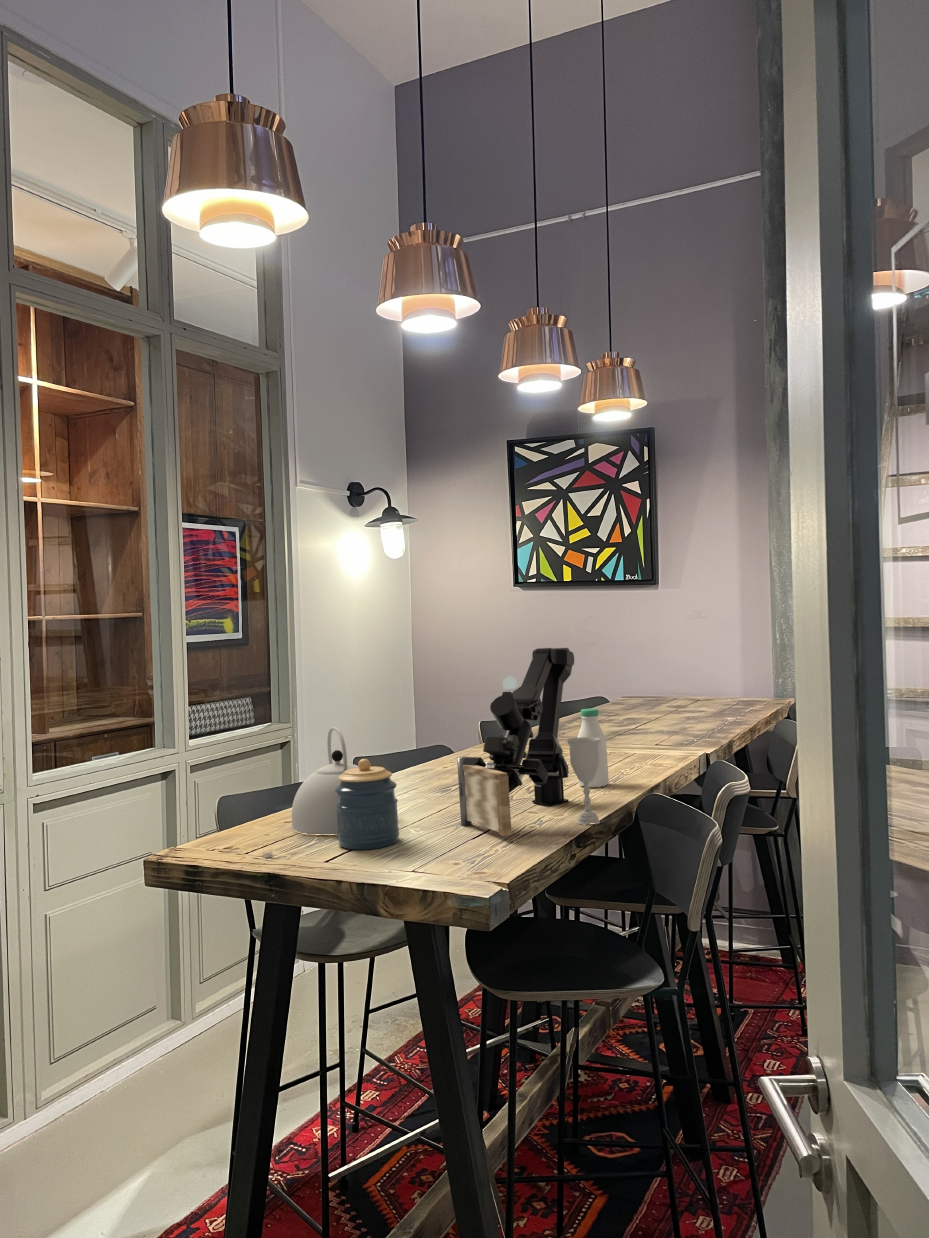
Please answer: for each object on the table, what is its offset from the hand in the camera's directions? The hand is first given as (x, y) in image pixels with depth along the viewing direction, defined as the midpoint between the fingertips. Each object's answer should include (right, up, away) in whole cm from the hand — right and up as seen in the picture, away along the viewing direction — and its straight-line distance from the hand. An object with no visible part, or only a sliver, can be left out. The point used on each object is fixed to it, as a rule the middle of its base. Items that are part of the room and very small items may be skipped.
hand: (493, 803), depth 193 cm
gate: (-1, -5, 0) cm, 5 cm away
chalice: (+21, -5, +5) cm, 22 cm away
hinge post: (-6, -7, +9) cm, 13 cm away
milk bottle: (+28, -5, +45) cm, 53 cm away
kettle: (-35, -9, +19) cm, 41 cm away
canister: (-26, -8, -2) cm, 27 cm away
